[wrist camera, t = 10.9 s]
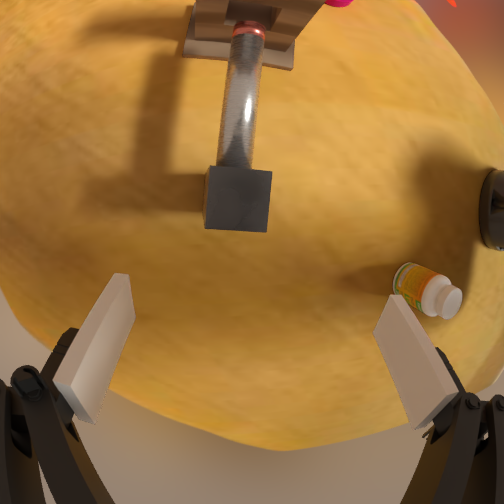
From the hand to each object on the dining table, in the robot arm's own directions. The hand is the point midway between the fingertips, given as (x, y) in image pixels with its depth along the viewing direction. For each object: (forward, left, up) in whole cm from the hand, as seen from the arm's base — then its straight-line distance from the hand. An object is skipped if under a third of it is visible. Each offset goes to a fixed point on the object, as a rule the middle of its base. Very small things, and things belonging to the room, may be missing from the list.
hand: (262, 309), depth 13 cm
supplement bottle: (-19, -17, -17) cm, 31 cm away
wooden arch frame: (+19, -15, -17) cm, 29 cm away
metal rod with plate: (+9, -7, -17) cm, 20 cm away
